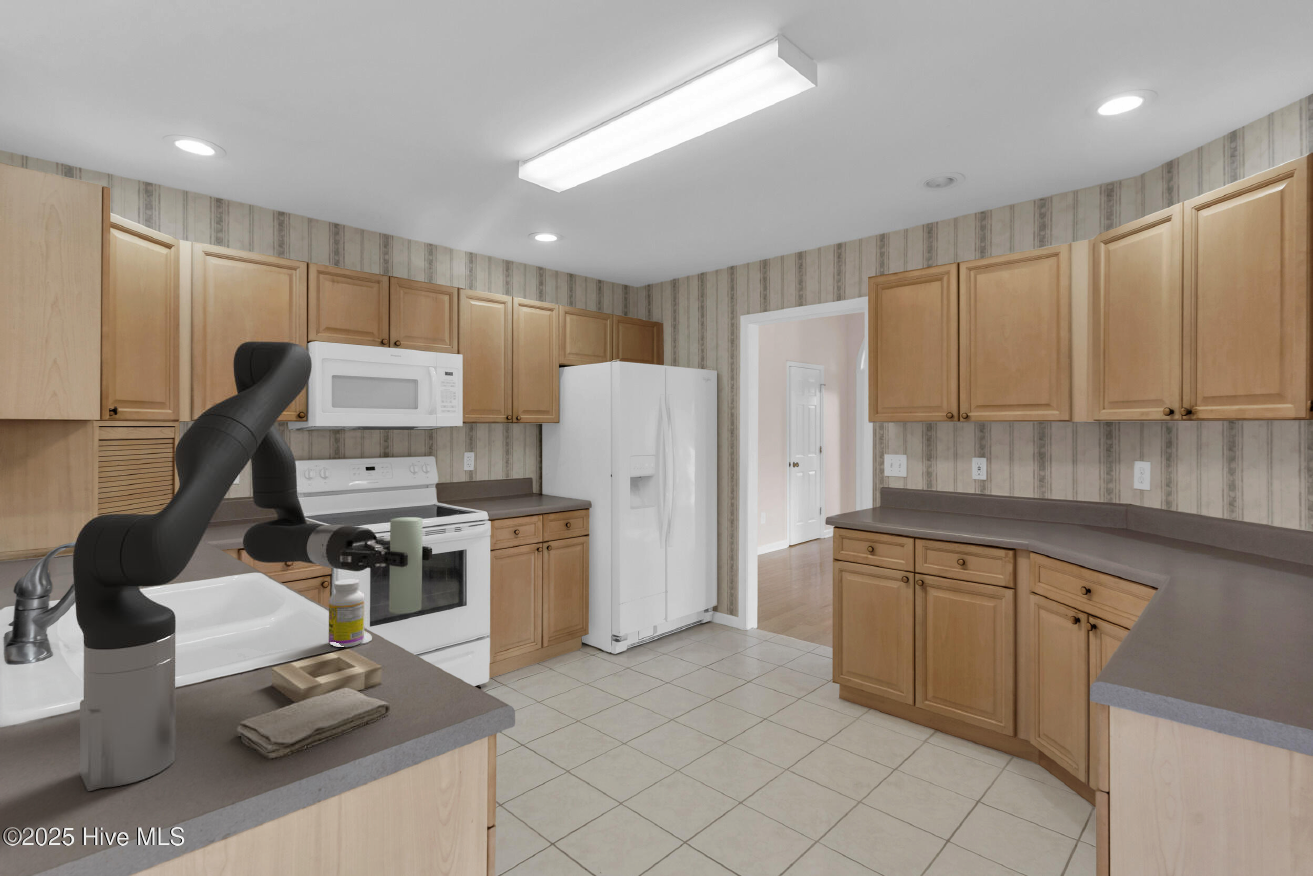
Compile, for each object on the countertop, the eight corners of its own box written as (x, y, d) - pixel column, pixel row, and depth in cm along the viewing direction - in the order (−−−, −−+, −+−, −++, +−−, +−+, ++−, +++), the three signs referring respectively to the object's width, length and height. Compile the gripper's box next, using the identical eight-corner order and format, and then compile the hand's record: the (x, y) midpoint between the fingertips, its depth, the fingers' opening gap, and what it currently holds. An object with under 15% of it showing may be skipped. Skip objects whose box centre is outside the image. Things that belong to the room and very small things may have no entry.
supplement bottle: (331, 639, 134) (332, 578, 134) (366, 636, 136) (366, 576, 136) (325, 650, 128) (326, 586, 127) (361, 647, 130) (362, 584, 129)
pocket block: (302, 707, 102) (302, 688, 102) (271, 685, 110) (271, 667, 110) (381, 683, 112) (381, 666, 112) (348, 664, 120) (348, 648, 120)
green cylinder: (398, 615, 103) (399, 522, 103) (383, 609, 106) (384, 519, 106) (427, 609, 107) (428, 519, 106) (411, 603, 110) (413, 516, 110)
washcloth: (230, 741, 92) (230, 719, 92) (349, 698, 107) (349, 680, 107) (272, 766, 85) (272, 743, 85) (392, 717, 100) (392, 697, 100)
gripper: (306, 532, 105) (385, 541, 99) (375, 520, 118) (448, 528, 112) (306, 577, 105) (385, 589, 99) (374, 560, 119) (448, 570, 112)
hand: (418, 556), depth 105 cm, fingers closed on green cylinder, 5 cm apart
